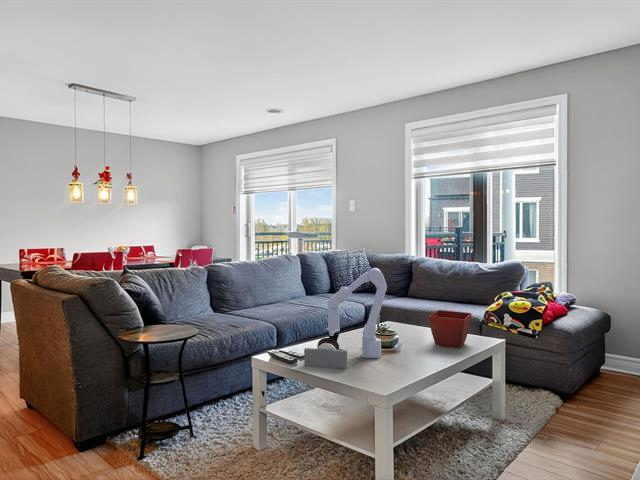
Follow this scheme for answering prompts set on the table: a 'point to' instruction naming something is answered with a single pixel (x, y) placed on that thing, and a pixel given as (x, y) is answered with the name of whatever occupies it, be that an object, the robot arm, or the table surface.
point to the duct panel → (325, 357)
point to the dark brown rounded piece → (329, 340)
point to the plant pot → (449, 327)
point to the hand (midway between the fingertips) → (333, 346)
